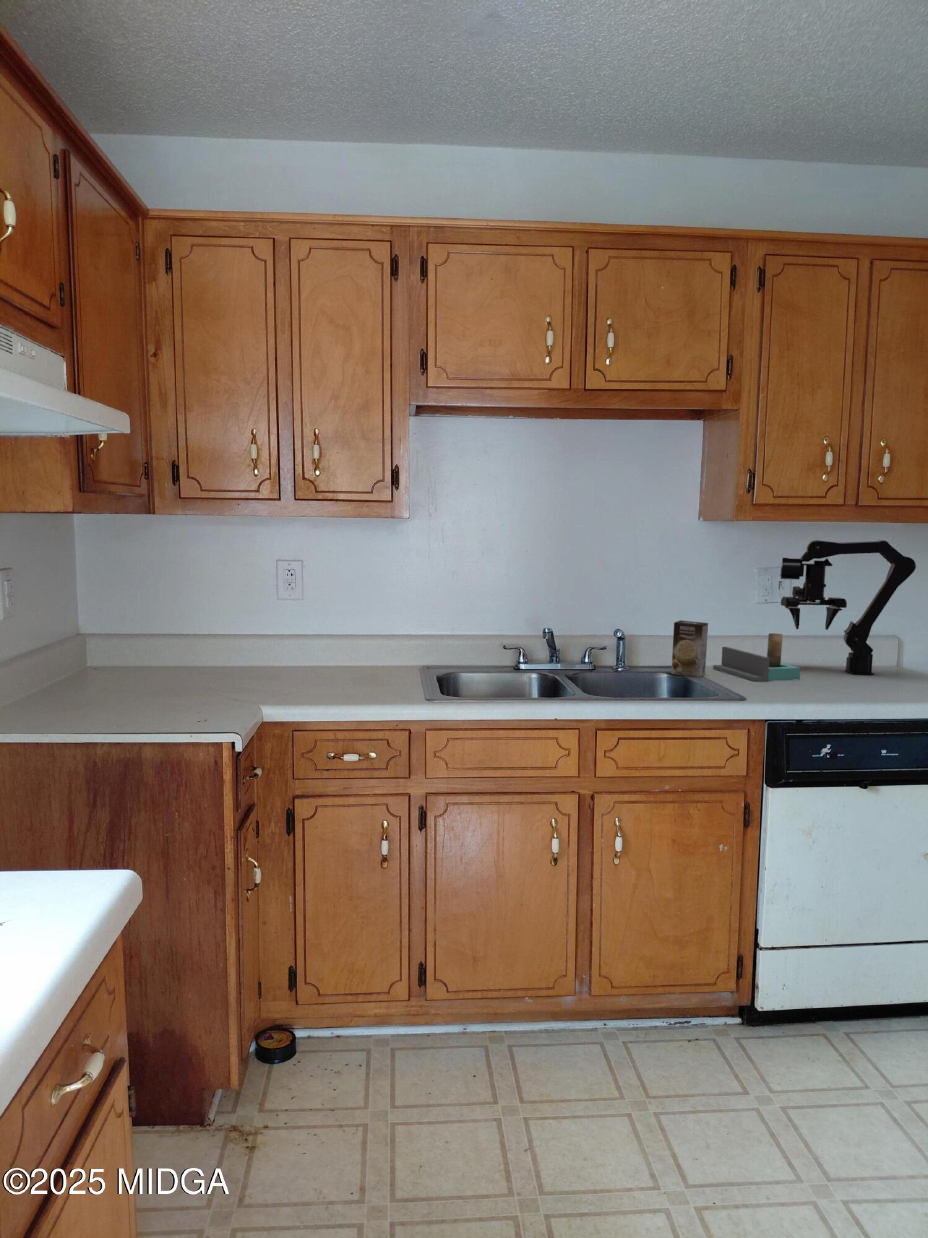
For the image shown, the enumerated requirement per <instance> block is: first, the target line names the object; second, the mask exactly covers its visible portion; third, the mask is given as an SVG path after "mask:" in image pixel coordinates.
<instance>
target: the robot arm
mask: <svg viewBox="0 0 928 1238" xmlns="http://www.w3.org/2000/svg"><path fill="white" fill-rule="evenodd" d="M856 554H880V555H881V556H882V557H883V559H885V560H886V562H888V563H889V564H890V566H889V568H888V571H887V575H886V578H885V580H884V582H883V583H882V585H881V586H880V588H879V589H878V591H877V592H876V594H875V595H874V597H873V598H872V600H871V602H869V605H868V606H867V607H866V609H865V610H864V612H863V613H862V615H861V616H860V618H859V619H858V620H857V621H856V622H855V623H854V621H852V620H851V621H849V624H848V626H847V628H846V629H844V630H843V633H844V635H843V641H844V643H845V645H847V647H848V648H849V649H850V652H849V651H848V654H847V655H848V656H847V657H846V663H845V670H844V671H846V672H847V673H850V674H852V675H875V673H874V672H873V671H872V670H873V651H874V648H872V646H871V645H870V644H868V642H867V641H868V639H869V636H870V633H871V631H872V627H873V625H874V624H875V622H876V621H877V620H878V617H879V616H880V615H881V613H882V612H883V610H884V608H885V607H886V606H887V604H888V603H889V601H890V600H891V598H892V596H893V595H894V594H895V592H896V591H897V589H898V588H899V587H900V586H901V585H902V584H903V583H904V582H905V581H906V580H907V579H908V578H909V577H910V576H912V574H913V573H915V570H916V568H917V564H916V562H915V560H914V559H913V558H912V557H909V556H905V555H904V554H902V553H901V552H899V551H898V550H897V549H896V548H894V547H893V546H892V545H891V544H890V543H889V542H888V541H886V540H883V539H881V540H880V539H879V540H873V541H872V540H870V541H852V542H851V541H849V542H848V541H847V542H837V541H836V542H835V541H828V540H819V539H814V540H811V541H810V542H809V543H808V544H807V546H806V551H805V552H804V553H803V554H802V555H801V557H800V558H791V557H789V558H788V557H782V558H781V567H780V580H800V578H801V577H804V573H805V579H804V582H803V586H802V588H801V586H795V585H794V586H793V587H792V591H791V593H792V596H782V598H781V600H780V606H783V607H784V609H788V610H789V612H790V614H791V616H792V620H793V623H794V627H795V629H796V630H799V629H800V618H801V608H800V607H799V606H826V607H825V610H826V615H825V616H826V618H825V624H824V626H825V630H826V631H828V630H829V628H830V627H831V625H832V623H833V621H834V619H835V618H836V616H837V615H838V613H839V612H840V611H843V609H847V605H848V603H847V602H848V601H847V600H846V598H844V597H843V598H842V597H835V596H834V597H831V596H829V597H828V598H827V599H826V597H825V588H826V587H827V583H826V582H825V581H826V567H832V566H833V564H832V563H831V562H830V560H829V557H834V556H838V555H856ZM824 558H825V559H824ZM815 559H816V560H815ZM821 559H824V560H821ZM810 561H813V563H809V562H810Z"/></svg>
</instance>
